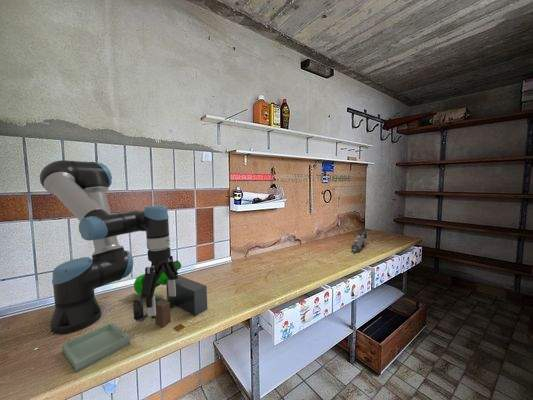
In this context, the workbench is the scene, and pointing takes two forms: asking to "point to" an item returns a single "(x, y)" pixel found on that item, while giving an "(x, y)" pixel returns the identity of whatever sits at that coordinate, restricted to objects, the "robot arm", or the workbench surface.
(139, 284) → the plastic bottle
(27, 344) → the workbench surface
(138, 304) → the crank
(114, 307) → the workbench surface
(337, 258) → the workbench surface
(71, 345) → the tray
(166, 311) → the wooden block
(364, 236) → the hydraulic cylinder
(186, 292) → the stand
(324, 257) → the workbench surface
